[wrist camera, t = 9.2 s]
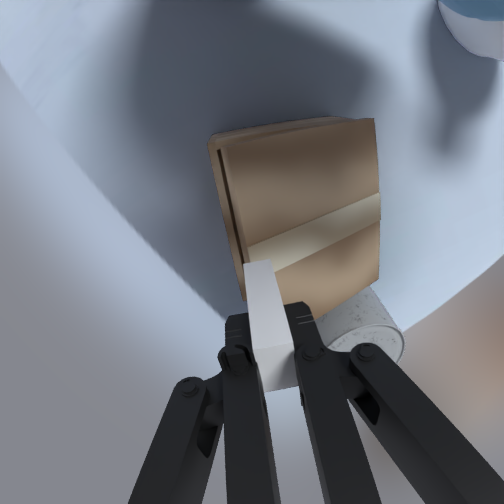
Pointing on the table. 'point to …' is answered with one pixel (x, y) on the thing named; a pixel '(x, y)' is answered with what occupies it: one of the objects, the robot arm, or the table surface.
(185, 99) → the table surface
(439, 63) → the table surface
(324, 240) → the lid
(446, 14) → the vase
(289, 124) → the box
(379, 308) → the grey cylinder
